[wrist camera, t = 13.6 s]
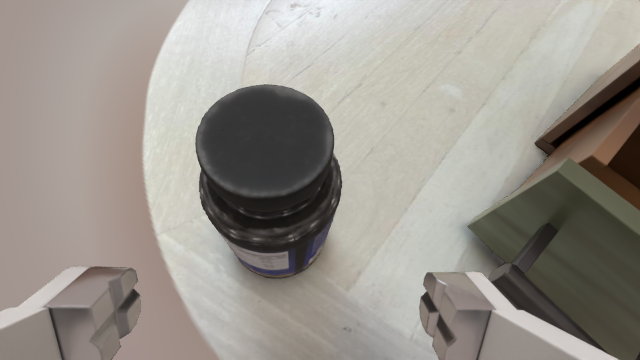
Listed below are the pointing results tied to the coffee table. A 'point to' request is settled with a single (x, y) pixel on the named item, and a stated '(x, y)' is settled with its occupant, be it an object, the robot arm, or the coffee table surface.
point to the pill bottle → (269, 177)
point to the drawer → (577, 234)
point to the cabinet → (595, 100)
